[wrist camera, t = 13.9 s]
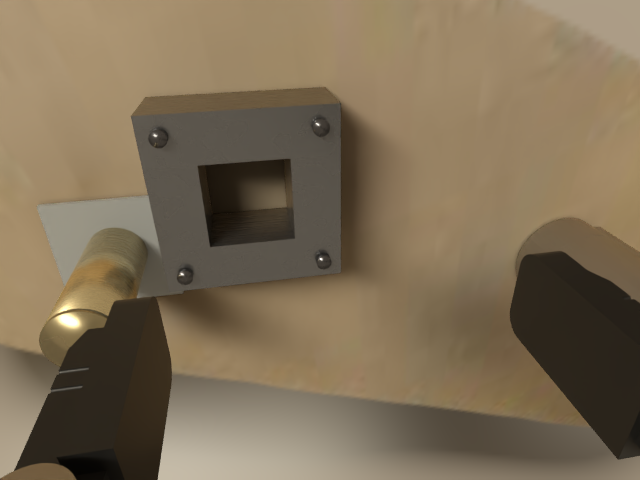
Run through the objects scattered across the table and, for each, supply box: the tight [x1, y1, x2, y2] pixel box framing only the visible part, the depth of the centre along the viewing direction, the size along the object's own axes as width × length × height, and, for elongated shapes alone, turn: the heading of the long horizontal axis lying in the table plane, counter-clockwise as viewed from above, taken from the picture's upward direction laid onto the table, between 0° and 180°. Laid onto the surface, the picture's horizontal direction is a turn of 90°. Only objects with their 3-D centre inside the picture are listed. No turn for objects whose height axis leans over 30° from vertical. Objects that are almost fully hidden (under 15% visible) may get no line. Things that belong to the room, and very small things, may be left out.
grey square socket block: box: [131, 87, 341, 292], centre depth 37 cm, size 14×14×7 cm
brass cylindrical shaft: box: [39, 228, 148, 367], centre depth 35 cm, size 5×5×12 cm
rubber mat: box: [37, 195, 184, 298], centre depth 41 cm, size 10×10×1 cm
